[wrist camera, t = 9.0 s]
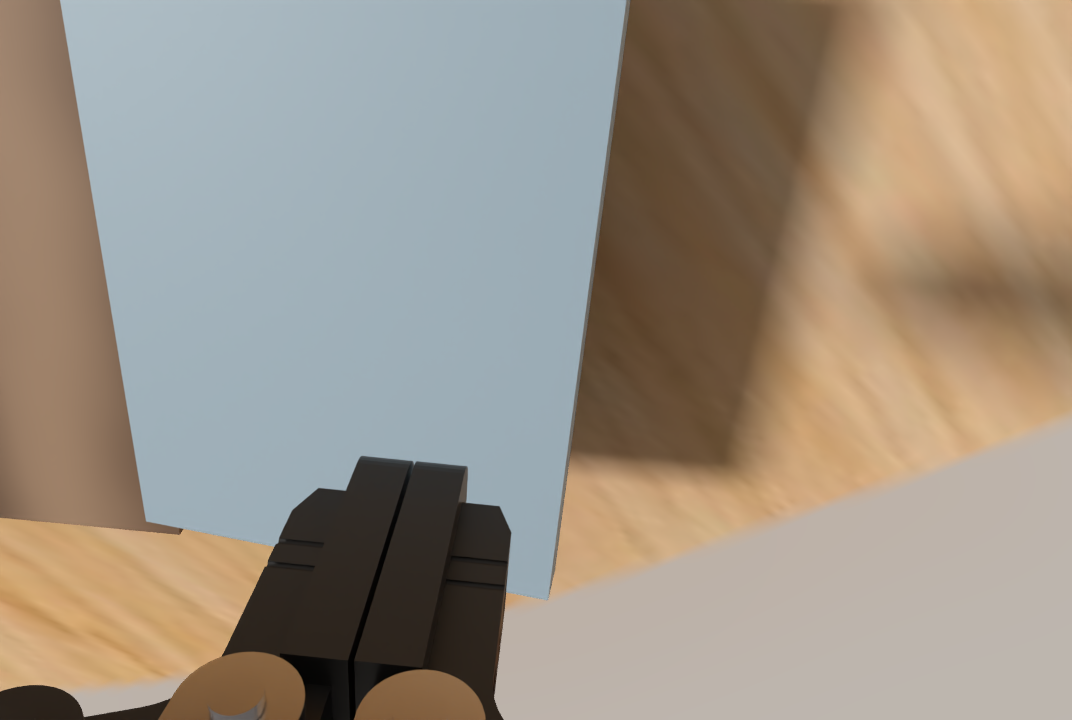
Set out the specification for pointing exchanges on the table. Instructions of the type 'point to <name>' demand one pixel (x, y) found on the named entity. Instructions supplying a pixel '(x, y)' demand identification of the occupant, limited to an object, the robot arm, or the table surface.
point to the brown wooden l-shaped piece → (55, 300)
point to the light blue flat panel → (349, 244)
